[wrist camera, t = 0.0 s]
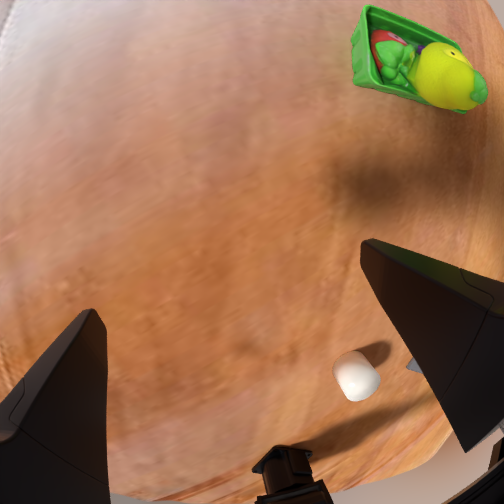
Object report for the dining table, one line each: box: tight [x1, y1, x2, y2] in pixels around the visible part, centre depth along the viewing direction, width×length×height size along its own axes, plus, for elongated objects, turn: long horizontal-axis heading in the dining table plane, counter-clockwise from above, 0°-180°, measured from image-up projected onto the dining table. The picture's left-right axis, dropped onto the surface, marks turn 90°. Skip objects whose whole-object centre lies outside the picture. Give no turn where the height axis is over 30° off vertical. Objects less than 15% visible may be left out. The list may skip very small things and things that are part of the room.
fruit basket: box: [351, 5, 488, 114], centre depth 17 cm, size 11×9×11 cm
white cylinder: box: [332, 351, 381, 401], centre depth 29 cm, size 4×4×4 cm
